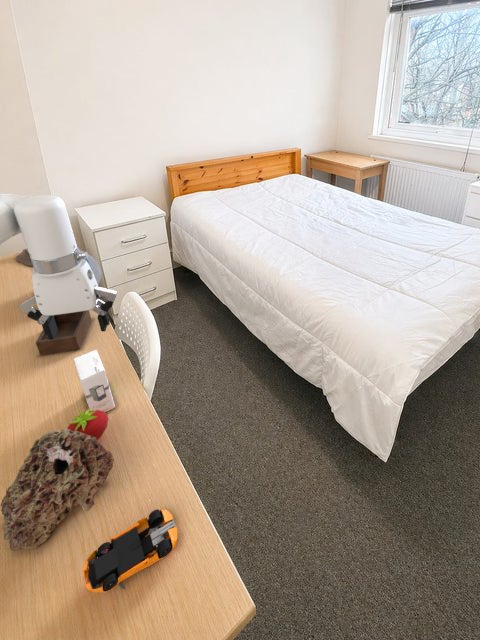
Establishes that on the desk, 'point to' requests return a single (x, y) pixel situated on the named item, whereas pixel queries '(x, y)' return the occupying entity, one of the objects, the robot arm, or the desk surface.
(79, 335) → the holder
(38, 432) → the desk surface
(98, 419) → the strawberry
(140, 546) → the toy car
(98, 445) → the coral
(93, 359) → the ink box
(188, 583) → the desk surface
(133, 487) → the desk surface
